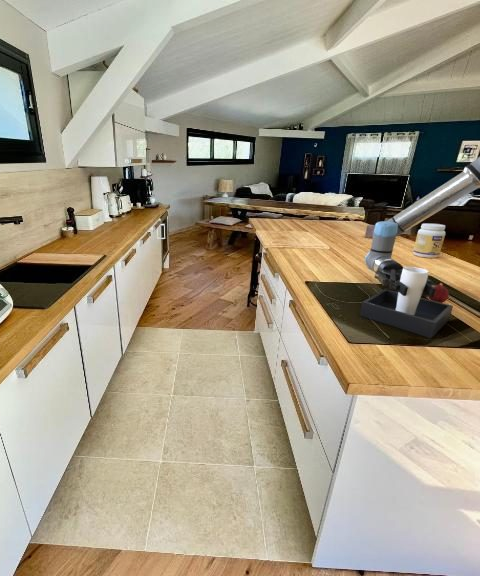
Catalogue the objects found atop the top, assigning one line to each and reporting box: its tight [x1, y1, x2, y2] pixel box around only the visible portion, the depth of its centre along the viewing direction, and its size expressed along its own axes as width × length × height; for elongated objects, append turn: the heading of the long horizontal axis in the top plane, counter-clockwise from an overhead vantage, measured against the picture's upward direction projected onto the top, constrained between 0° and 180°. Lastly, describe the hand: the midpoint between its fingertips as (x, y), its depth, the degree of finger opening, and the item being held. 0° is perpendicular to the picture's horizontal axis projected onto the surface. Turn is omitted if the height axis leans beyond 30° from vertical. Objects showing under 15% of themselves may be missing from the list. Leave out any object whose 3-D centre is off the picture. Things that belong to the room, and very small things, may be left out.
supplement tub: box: [412, 223, 446, 259], centre depth 170 cm, size 12×12×17 cm
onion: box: [427, 282, 450, 303], centre depth 110 cm, size 6×6×8 cm
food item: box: [364, 224, 376, 239], centre depth 216 cm, size 14×8×10 cm, turn 59°
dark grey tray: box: [359, 288, 454, 339], centre depth 101 cm, size 20×18×5 cm
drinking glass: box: [395, 266, 430, 315], centre depth 99 cm, size 7×7×15 cm
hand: (419, 292), depth 94 cm, fingers closed on drinking glass, 7 cm apart
